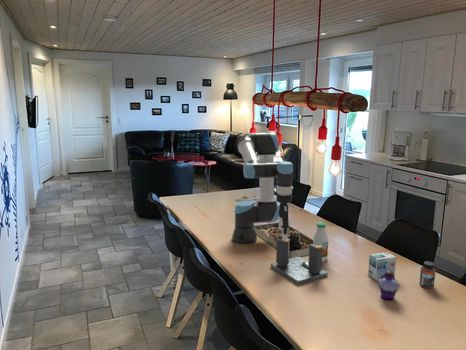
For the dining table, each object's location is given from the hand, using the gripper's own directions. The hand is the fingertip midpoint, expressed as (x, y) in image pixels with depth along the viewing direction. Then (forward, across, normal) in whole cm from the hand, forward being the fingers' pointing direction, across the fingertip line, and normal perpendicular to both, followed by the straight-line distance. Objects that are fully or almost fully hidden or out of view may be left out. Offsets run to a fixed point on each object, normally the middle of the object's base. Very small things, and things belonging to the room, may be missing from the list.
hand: (283, 234), depth 193 cm
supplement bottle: (+18, -19, -64) cm, 69 cm away
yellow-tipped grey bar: (+16, -1, 0) cm, 16 cm away
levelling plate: (+18, -5, -8) cm, 20 cm away
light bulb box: (+18, -10, -47) cm, 51 cm away
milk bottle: (+18, +10, -21) cm, 30 cm away
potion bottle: (+17, -30, -42) cm, 54 cm away
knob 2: (+16, -8, -15) cm, 23 cm away
